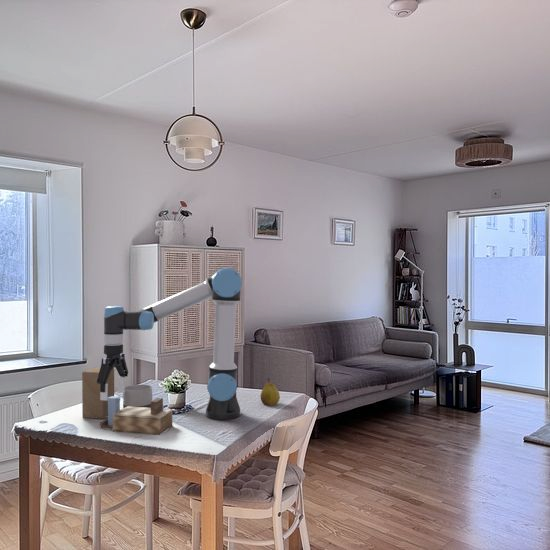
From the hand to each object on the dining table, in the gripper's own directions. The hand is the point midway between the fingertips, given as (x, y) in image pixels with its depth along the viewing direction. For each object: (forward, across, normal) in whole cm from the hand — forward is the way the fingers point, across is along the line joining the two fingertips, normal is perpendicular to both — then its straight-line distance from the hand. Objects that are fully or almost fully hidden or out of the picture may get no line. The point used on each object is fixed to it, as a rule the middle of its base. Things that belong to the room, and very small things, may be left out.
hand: (112, 396), depth 213 cm
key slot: (+12, 0, 0) cm, 12 cm away
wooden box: (+12, 0, +14) cm, 18 cm away
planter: (+13, -24, -2) cm, 27 cm away
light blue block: (+12, 0, 0) cm, 12 cm away
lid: (+6, 0, +13) cm, 15 cm away
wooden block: (+13, -13, -14) cm, 23 cm away
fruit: (+12, -48, +54) cm, 74 cm away
